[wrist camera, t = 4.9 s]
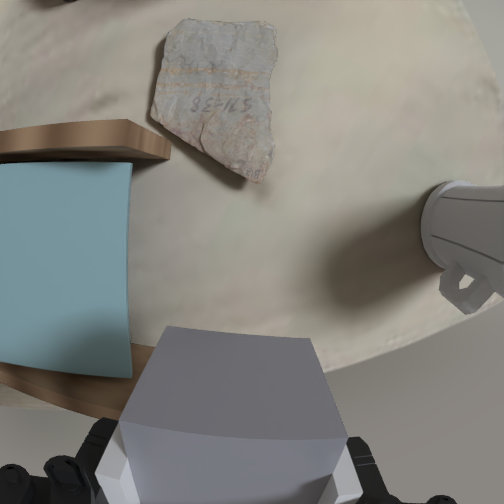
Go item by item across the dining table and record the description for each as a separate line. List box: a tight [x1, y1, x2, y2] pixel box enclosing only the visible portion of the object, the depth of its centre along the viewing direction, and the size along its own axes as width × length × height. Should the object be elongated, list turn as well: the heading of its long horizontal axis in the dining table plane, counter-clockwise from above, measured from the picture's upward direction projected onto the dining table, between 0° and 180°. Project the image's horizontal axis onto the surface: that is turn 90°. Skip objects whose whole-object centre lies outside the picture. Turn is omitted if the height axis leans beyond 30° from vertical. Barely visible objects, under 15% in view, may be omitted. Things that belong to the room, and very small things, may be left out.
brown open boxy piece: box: [0, 119, 172, 421], centre depth 22 cm, size 26×20×10 cm
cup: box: [421, 180, 504, 315], centre depth 20 cm, size 10×9×12 cm
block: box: [119, 326, 348, 504], centre depth 10 cm, size 6×6×6 cm
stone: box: [150, 18, 278, 183], centre depth 23 cm, size 15×11×3 cm
